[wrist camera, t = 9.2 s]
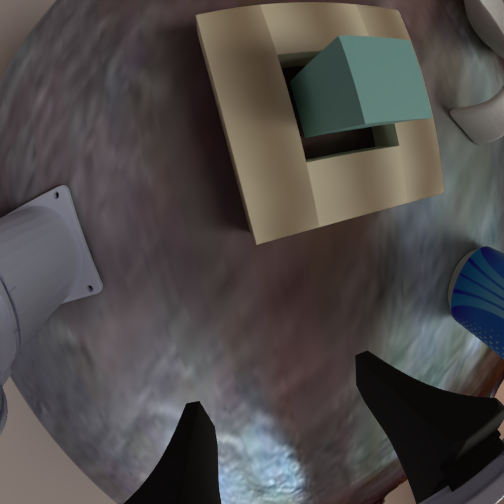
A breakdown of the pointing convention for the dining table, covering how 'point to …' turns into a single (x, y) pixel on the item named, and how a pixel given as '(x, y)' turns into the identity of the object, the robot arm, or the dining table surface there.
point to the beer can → (480, 296)
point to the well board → (285, 126)
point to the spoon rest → (500, 106)
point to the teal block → (360, 86)
